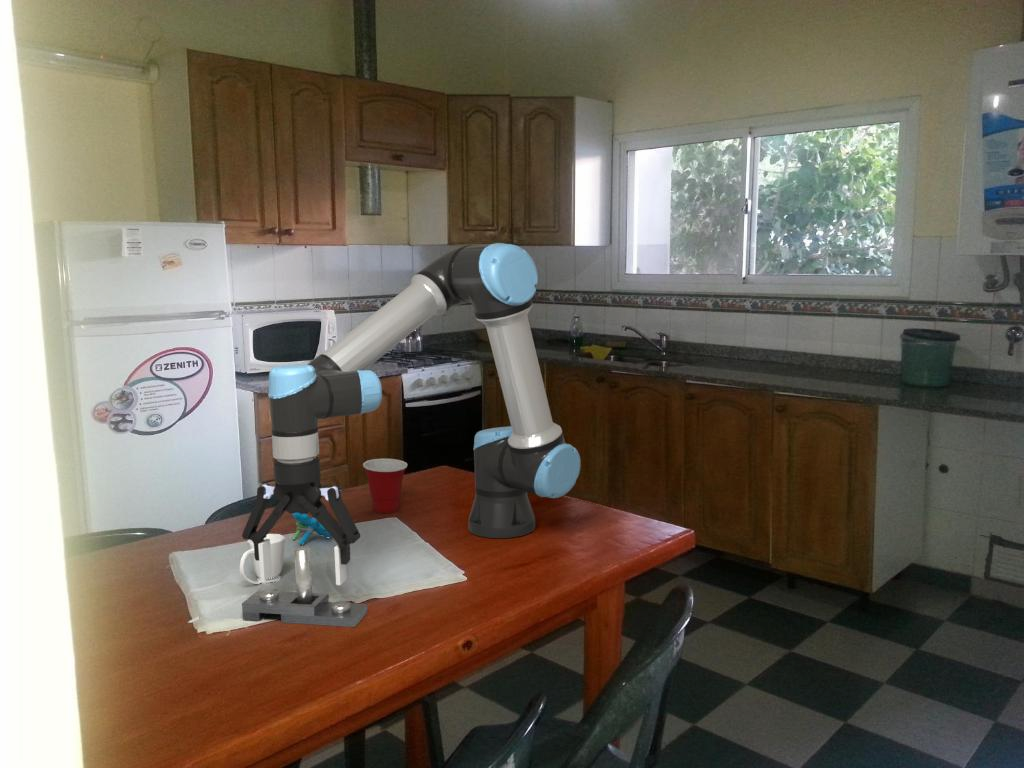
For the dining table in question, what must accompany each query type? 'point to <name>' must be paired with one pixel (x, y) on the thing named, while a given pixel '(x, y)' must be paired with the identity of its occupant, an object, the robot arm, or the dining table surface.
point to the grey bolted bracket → (302, 609)
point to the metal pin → (303, 575)
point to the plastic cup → (385, 483)
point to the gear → (308, 527)
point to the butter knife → (221, 605)
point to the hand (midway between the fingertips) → (303, 580)
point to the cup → (276, 558)
